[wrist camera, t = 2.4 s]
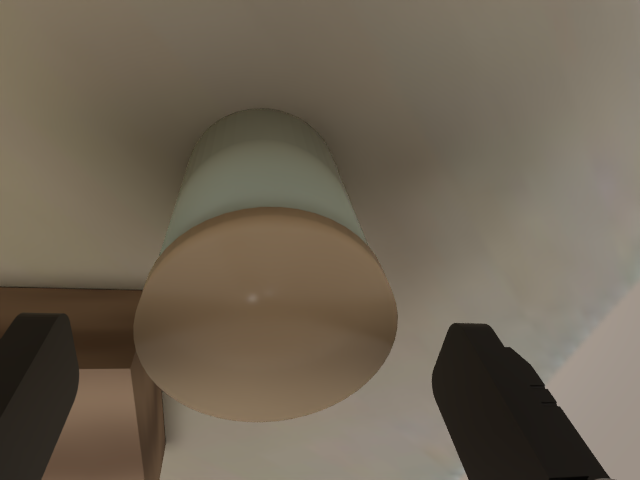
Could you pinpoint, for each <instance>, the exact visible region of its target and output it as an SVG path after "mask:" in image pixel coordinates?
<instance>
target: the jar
mask: <svg viewBox="0 0 640 480" xmlns="http://www.w3.org/2000/svg"><path fill="white" fill-rule="evenodd" d="M397 320H398V315H397V307H396V302H395V299H394V296H393V293H392V290H391V288H390V285H389V283H388V280H387V278H386V276H385V273H384V271H383V269H382V267H381V265H380V263H379V261H378V259H377V257H376V256H375V254H374V253H373V252H372V250H371V249H370V248H369V246H368V244H367V242H366V239H365V237H364V234H363V232H362V229H361V227H360V224H359V222H358V219H357V217H356V214H355V212H354V210H353V207H352V205H351V202H350V200H349V197H348V195H347V192H346V190H345V187H344V185H343V182H342V180H341V177H340V175H339V173H338V170H337V168H336V165H335V163H334V160H333V158H332V155H331V153H330V151H329V149H328V147H327V145H326V143H325V142H324V140H323V139H322V138H321V136H320V135H319V134H318V133H317V132H316V131H315V130H314V129H313V128H312V127H311V126H309V125H308V124H307V123H305V122H304V121H302V120H301V119H299V118H297V117H295V116H293V115H290V114H288V113H285V112H281V111H277V110H271V109H250V110H244V111H240V112H236V113H234V114H231V115H228V116H226V117H224V118H223V119H221V120H219V121H217V122H216V123H215V124H213V125H212V126H211V127H210V128H209V129H208V130H207V131H206V132H205V133H204V134H203V135H202V136H201V138H200V139H199V140H198V142H197V143H196V145H195V147H194V149H193V151H192V154H191V157H190V159H189V163H188V166H187V169H186V172H185V175H184V178H183V182H182V185H181V188H180V191H179V194H178V198H177V201H176V204H175V207H174V210H173V213H172V217H171V220H170V223H169V226H168V229H167V233H166V236H165V239H164V242H163V245H162V249H161V252H160V255H159V258H158V259H157V260H156V262H155V264H154V265H153V267H152V269H151V271H150V272H149V275H148V277H147V280H146V283H145V286H144V289H143V292H142V295H141V298H140V301H139V304H138V307H137V310H136V313H135V319H134V325H133V332H134V343H135V348H136V352H137V355H138V357H139V360H140V362H141V364H142V366H143V368H144V369H145V371H146V373H147V374H148V376H149V377H150V378H151V379H152V380H153V381H154V383H155V384H156V385H157V386H158V387H159V388H160V389H162V390H163V391H164V392H165V393H166V394H167V395H169V396H170V397H172V398H173V399H175V400H176V401H178V402H179V403H181V404H183V405H185V406H187V407H189V408H191V409H193V410H196V411H198V412H201V413H204V414H207V415H210V416H214V417H217V418H222V419H228V420H233V421H243V422H271V421H281V420H288V419H293V418H298V417H302V416H306V415H309V414H312V413H315V412H318V411H321V410H323V409H326V408H328V407H330V406H333V405H335V404H336V403H338V402H340V401H342V400H344V399H346V398H347V397H349V396H350V395H352V394H353V393H355V392H356V391H357V390H359V389H360V388H361V387H362V386H363V385H365V384H366V383H367V382H368V381H369V380H370V379H371V378H372V377H373V376H374V375H375V374H376V373H377V371H378V370H379V369H380V367H381V366H382V365H383V363H384V362H385V360H386V358H387V356H388V355H389V353H390V351H391V348H392V346H393V343H394V340H395V336H396V331H397Z"/></svg>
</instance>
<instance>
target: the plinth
mask: <svg viewBox="0 0 640 480" xmlns="http://www.w3.org/2000/svg"><path fill="white" fill-rule="evenodd" d="M142 292H143V291H142V290H98V289H55V288H11V287H0V339H1V338H2V336H3V335H4V333H5V332H6V330H7V329H8V327H9V326H10V325H11V323H12V322H13V320H14V319H15V318H16V316H17V315H19V314H20V313H23V312H25V313H64V314H66V315H67V316H68V317H69V320H70V324H71V329H72V335H73V340H74V345H75V350H76V355H77V360H78V366H79V385H78V390H77V394H76V398H75V401H74V403H73V406H72V408H71V410H70V413H69V415H68V417H67V420H66V422H65V425H64V427H63V429H62V432H61V434H60V436H59V439H58V441H57V444H56V446H55V448H54V451H53V453H52V455H51V458H50V460H49V463H48V465H47V467H46V470H45V472H44V474H43V477H42V479H41V480H159V478H160V473H161V467H162V462H163V456H164V450H165V445H166V443H165V430H164V417H163V404H162V392H161V389H160V388H159V387H158V386H157V385H156V384H155V383H154V381H153V380H152V379H151V378H150V377H149V376H148V374H147V373H146V371H145V369H144V368H143V366H142V364H141V362H140V360H139V357H138V355H137V352H136V348H135V343H134V332H133V325H134V319H135V313H136V310H137V307H138V304H139V301H140V298H141V295H142Z"/></svg>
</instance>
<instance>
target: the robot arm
mask: <svg viewBox="0 0 640 480" xmlns="http://www.w3.org/2000/svg"><path fill="white" fill-rule="evenodd" d="M78 385H79V366H78V360H77V355H76V350H75V345H74V340H73V335H72V329H71V324H70V320H69V317H68V316H67V315H66V314H64V313H25V312H23V313H20V314H19V315H17V316H16V318H15V319H14V320H13V322H12V323H11V325H10V326H9V327H8V329H7V330H6V332H5V333H4V335H3V336H2V338H1V339H0V480H41V479H42V477H43V474H44V472H45V470H46V467H47V465H48V463H49V460H50V458H51V455H52V453H53V451H54V448H55V446H56V444H57V441H58V439H59V436H60V434H61V432H62V429H63V427H64V425H65V422H66V420H67V417H68V415H69V413H70V410H71V408H72V406H73V403H74V401H75V398H76V394H77V390H78ZM432 389H433V394H434V397H435V400H436V403H437V405H438V407H439V410H440V412H441V415H442V417H443V419H444V422H445V424H446V426H447V429H448V431H449V434H450V436H451V438H452V441H453V443H454V446H455V448H456V450H457V453H458V455H459V458H460V460H461V462H462V465H463V467H464V470H465V472H466V474H467V477H468V479H469V480H614V479H610V477H609V476H608V475H607V473H606V472H605V471H604V469H603V468H602V466H601V465H600V463H599V462H598V461H597V459H596V458H595V456H594V455H593V453H592V452H591V450H590V449H589V448H588V446H587V445H586V443H585V442H584V440H583V439H582V438H581V436H580V435H579V433H578V432H577V430H576V429H575V428H574V426H573V425H572V423H571V422H570V420H569V419H568V418H567V416H566V415H565V413H564V412H563V410H562V409H561V408H560V407H558V406H557V404H556V403H557V402H556V400H555V399H554V398H553V396H552V395H551V393H550V392H549V391H548V389H545V385H544V383H543V382H542V380H541V379H540V377H539V376H538V374H537V373H536V372H535V370H534V369H533V367H532V366H531V365H530V364H529V363H528V362H527V361H526V360H525V359H523V358H522V357H521V356H520V355H519V354H518V353H516V352H515V351H514V350H513V349H512V348H510V347H504V345H503V344H502V342H501V341H500V339H499V338H498V336H497V335H496V333H495V332H494V330H493V329H492V328H491V327H490V326H489V325H487V324H474V323H454V324H452V325H451V326H450V327H449V329H448V332H447V335H446V337H445V340H444V343H443V345H442V348H441V351H440V353H439V356H438V359H437V361H436V364H435V367H434V370H433V374H432Z"/></svg>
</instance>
